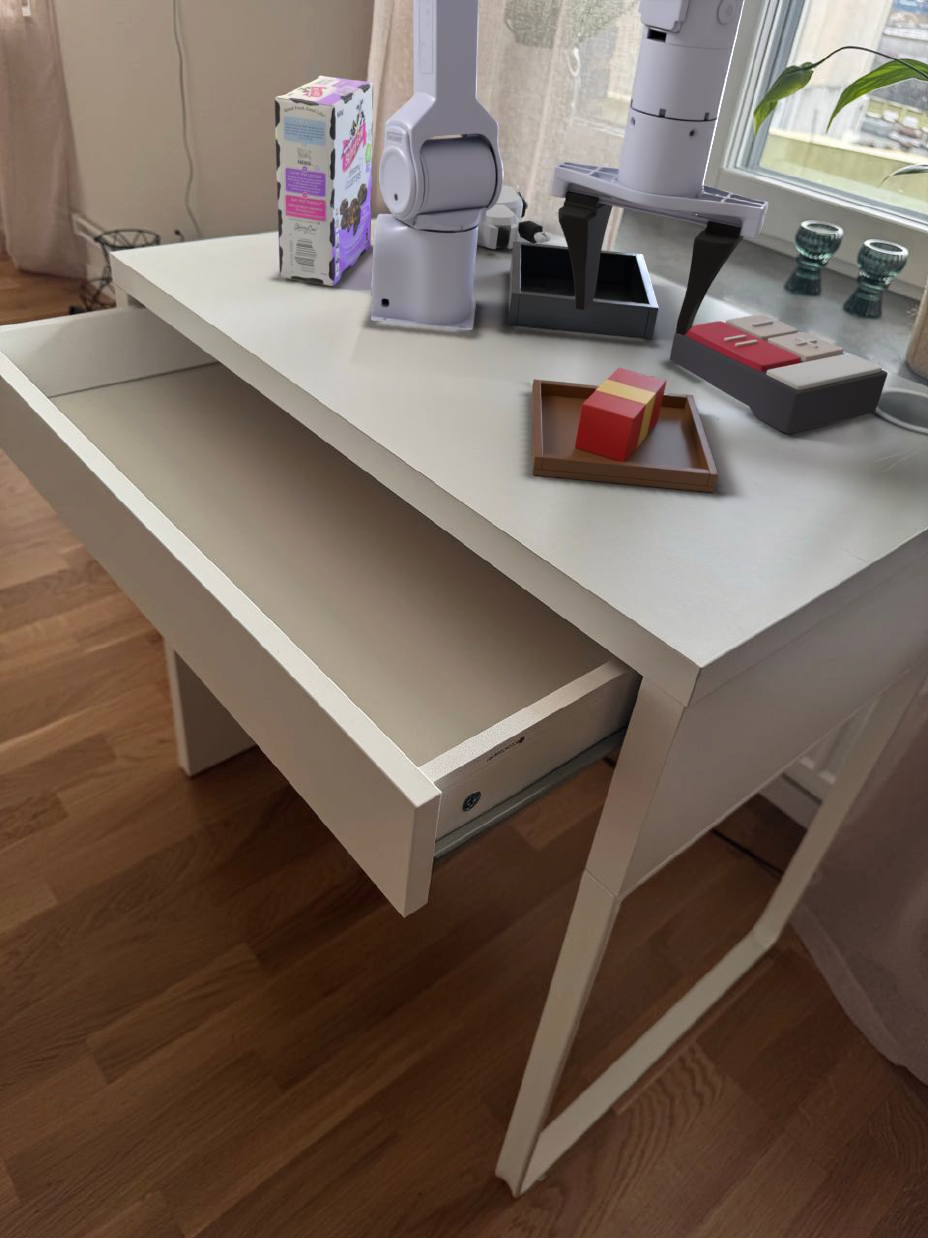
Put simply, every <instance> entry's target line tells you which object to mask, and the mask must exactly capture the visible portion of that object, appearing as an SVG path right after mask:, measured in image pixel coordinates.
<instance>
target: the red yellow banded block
mask: <svg viewBox="0 0 928 1238" xmlns="http://www.w3.org/2000/svg"><path fill="white" fill-rule="evenodd" d="M667 381H668V380H667V379H666V380H665V379H662V378H658V377H655V376H652V375H648V374H644V373H640V372H637V371H634V370H629V369H625V368H622V367H618V368H617V369H615V371H614V372H612V374H611V375H610V376H608V377H607V378H606V379H605V380H604V381H603V382H602V383H601V384H600V385H598V386H599V387H598V388H597V389H596V390H595V392H594V393H593V394H592V395H591V396H590V397H589V398H588V399H587V400H586V401H585V402H584V403H583V404H582V408H581V414H580V420H579V425H578V431H577V437H576V443H575V448H578V449H581V450H584V451H588V452H591V453H594V454H598V455H601V456H604V457H607V458H611V459H614V460H617V461H621V462H625V461H626V460H627V459H628V458H629V456H630V455H631V454H632V453H633V451H634V450H635V449H636V448H637V447H638V446H639V445H640V444H641V442H642V441H643V440H644V439H645V437H646V436H647V434H648V433H649V432H650V431H651V429H652V428H653V427H654V426H655V424H656V423H657V422H658V417H659V413H660V408H661V404H662V400H663V395H664V392H665V390H666V386H667Z"/></svg>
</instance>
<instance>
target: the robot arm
mask: <svg viewBox="0 0 928 1238" xmlns="http://www.w3.org/2000/svg"><path fill="white" fill-rule="evenodd" d="M479 3H480V0H412V32H413V35H412V37H413V38H412V40H413V44H412V45H413V57H412V59H413V95H412V96H411V97H410V99H408V100H407V101H406V102H405V103H404V104H403V105H402V106H401V107H400V108H399V109H398V110H396V112H395V113H393V114H392V115H391V116H390V117H389V118H388V119H387V120H386V122H385V123H384V140H383V141H384V142H383V150H382V154H381V158H380V162H379V168H378V183H379V189H380V194H381V197H382V200H383V202H384V204H385V206H386V207H387V209H388V211H389V212H390V213H379V214H378V215H377V217H376V221H375V224H374V225H375V226H374V232H373V233H374V235H373V247H372V248H373V249H372V277H371V281H370V282H371V283H370V296H371V317H370V320H371V321H374V322H383V323H384V322H385V323H393V324H404V325H413V326H422V327H423V326H424V327H434V328H442V329H453V330H463V331H472V330H473V329H474V325H475V323H474V322H475V315H476V314H475V312H476V305H477V300H475V299H473V294H474V293H473V292H474V280H475V271H476V270H475V269H476V258H477V247H478V245H477V237H478V226H479V224H478V223H481V222H485V221H486V214H487V210H489V209H491V208H492V207H493V206H494V205H495V204H496V202H497V201H498V199H499V196H500V193H501V190H502V185H504V165H503V161H502V160H503V159H502V157H501V151H500V147H499V146H500V145H499V123H498V122H497V120H496V119H495V118H494V116H492V114H491V113H490V112H489V111H488V110H487V109H486V107H485V106H484V105H483V104H482V103H481V102H480V101H479V99H478V98H477V89H478V88H477V87H478V86H477V85H478V84H477V83H478V48H479V47H478V44H479V43H478V42H479V9H480V8H479V5H480V4H479ZM744 4H745V0H639V4H638V11H637V12H638V13H639V14H640V18H639V21H640V23H641V24H642V25H643V26H642V31H641V38H640V44H639V49H638V56H637V61H636V68H635V73H634V77H633V83H632V84H633V85H632V91H631V96H630V102H629V107H628V113H627V119H626V124H625V130H624V136H623V141H622V148H621V154H620V159H619V165H618V168H616V167H607V166H599V165H592V164H591V165H590V164H582V163H575V162H571V161H561V162H560V163H558V164H556V165H554V167H553V174H552V179H551V180H552V181H551V189H550V196H552V197H556V198H560V199H561V198H562V199H565V200H564V201H563V204H562V206H561V207H559V208H558V212H557V218H558V223H559V226H560V229H561V231H562V233H563V237H564V239H565V243H566V245H567V246H566V247H568V250H569V254H570V258H571V263H572V269H573V276H574V286H575V308H577V309H581V310H584V309H586V308H587V307H588V306H589V305H590V304H591V303H592V302H593V298H594V294H595V290H596V284H597V277H598V269H599V261H600V254H601V250H603V245H604V240H605V236H606V232H607V228H608V224H609V221H610V217H611V214H612V209H613V207H616V208H621V209H626V210H630V211H634V212H640V213H643V214H650V215H654V216H658V217H664V218H667V219H673V220H678V221H682V222H687V223H691V224H696V225H701V226H705V228H704V229H703V230H701V231H700V232H699V233H698V234H697V235H696V236H695V237H694V240H693V246H692V253H691V254H692V256H691V263H690V269H689V275H688V280H687V285H686V291H685V294H684V297H683V301H682V304H681V306H680V311H679V314H678V318H677V321H676V328H675V333H677V334H681V335H686V334H687V332H688V331H689V330H690V329H691V328H692V326H694V322H695V319H696V316H697V314H698V312H699V309H700V307H701V305H702V302H703V300H704V299H705V297H706V296H707V293H708V291H709V289H710V288H711V286H712V284H713V282H714V281H715V279H716V277H717V276H718V274H719V272H720V271H721V269H722V268H723V266H724V265H725V264H726V262H727V261H728V259H729V258H730V256H731V255H732V254H733V252H734V251H735V249H736V248H737V247H738V246H739V244H740V243H741V241H742V240H743V239H744V238H748V239H752V240H755V239H756V238H757V237H759V236H760V234H761V233H762V231H763V226H764V223H765V221H766V215H767V212H768V209H769V204H770V203H769V202H768V201H763V200H759V199H754V198H751V197H747V196H744V195H740V194H738V193H733V192H730V191H727V190H723V189H720V188H717V187H713V186H710V185H707V184H704V182H705V179H706V173H707V169H708V164H709V160H710V156H711V152H712V147H713V146H712V145H713V142H714V137H715V135H716V134H715V133H716V128H717V125H718V121H719V115H720V110H721V106H722V102H723V99H724V93H725V89H726V84H727V79H728V75H729V70H730V66H731V62H732V57H733V53H734V48H735V44H736V41H737V35H738V31H739V26H740V22H741V18H742V13H743V9H744ZM456 135H457V136H458V137H445V136H456ZM443 136H444V138H441V137H443ZM433 137H440V138H433Z"/></svg>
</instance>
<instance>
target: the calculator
mask: <svg viewBox="0 0 928 1238" xmlns="http://www.w3.org/2000/svg"><path fill="white" fill-rule="evenodd" d="M669 360H670V361H671V362H673V363H675V364H677V365H678V366H679V367H682V368H683V369H685V370H687V371H688V372H689V373H692V374H693V375H695V376H697V378H700V379H702V380H703V381H704V382H706V383H708V384H710V385H712V386H713V387H715V388H717V389H719V390H720V391H721V392H723V393H725V394H727V395H728V396H730V397H731V398H733V399H735V400H737V401H739V402H741V403H742V404H744V405H746V406H748V407H749V409H750V410H751V412H752V414H753V416H754V417H755V418H756V419H758V420H760V421H762V422H764V423H766V424H768V425H770V426H771V427H773V428H776V429H777V430H778V431H782V432H783V433H785V434H795V433H797V432H798V433H799V432H801V431H806V430H809V429H814V428H817V427H822V426H825V425H830V424H834V423H837V422H841V421H845V420H849V419H854V418H858V417H861V416H864V415H869V414H872V413H875V412H876V411H877V409H878V405H879V402H880V399H881V396H882V393H883V390H884V388H885V387H884V386H885V383H886V381H887V377H888V372H887V371H886V370H884V369H883V368H882V366H880V365H878V364H876V363H873V362H871V361H869V360H866V359H863V358H861V357H860V356H857V355H855V354H852V353H844V348H843V347H841V346H839V345H836V344H834V343H833V342H829V341H827V340H825V339H822V338H820V337H818V336H815V335H813V334H811V333H808V332H805V331H801V332H799V329H798V328H797V327H795V326H791V325H790V324H787V323H784V322H782V321H780V320H777V319H775V318H773V317H770V316H768V315H766V314H763V313H759V314H753V315H748V316H742V317H741V316H740V317H736V318H735V317H734V318H730V319H726V321H725V322H724V321H713V322H712V321H711V322H707V323H701V324H695V325H694V324H693V325H692V328H691V329H690V330H689V331H688V332H687V334H686V335H681V334H677V333H676V332H675V333H674V334H673V338H672V345H671V351H670V356H669Z"/></svg>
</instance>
